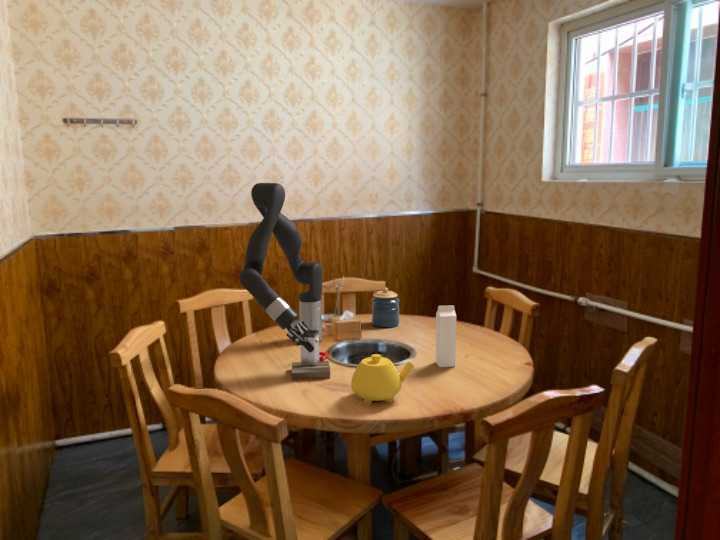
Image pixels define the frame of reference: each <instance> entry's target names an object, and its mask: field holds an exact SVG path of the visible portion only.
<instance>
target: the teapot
mask: <svg viewBox="0 0 720 540" xmlns="http://www.w3.org/2000/svg"><path fill="white" fill-rule="evenodd" d="M394 364H395V363H393V362H392V361H391V360H390V359H389V358H387V357H384V356H382V355H381V354H378V353H375V354H373V353H372V354H371V355H370V356H369V357H365V358H363V359H362V360H361V361H360V362H359V363H358V365H357V367H356V368H355V371H354V372H353V374H352V378H351V383H350V387H351V390H352V391H353V393H354V394H355V395H356V396H357V397H359V398H361V399H362V400H363V402H362V404H363V403H364V404H363V405H371V404H373V401H377V402H378V401H384V403H387V404H391V403H394V402H393V401H394V399H393V398H394V397H395V396H397V394H399V392H400V391H401V388H402V383H403V382H404V380H405V379H406V378H407V376H408V375H409V374H410V373H411V371H413V369H414V368H415V364H413V363H412V362H411V361H407V362H406V363H405V365H404V366H403V367H402V369H401V370H400V371H398V370H397V368H396V366H395V365H394Z"/></svg>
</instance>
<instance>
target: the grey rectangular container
mask: <svg viewBox="0 0 720 540" xmlns="http://www.w3.org/2000/svg"><path fill="white" fill-rule="evenodd" d="M303 336H304V337H305V338H306V340H307V341H308V342H309V343H310V344H311V345H312V346H313V347H314V350H313V351H312V352H311V353H309V352H308V350H307V349H306V348H305V347H304V346H303V345H302V346H301V345H300V362H301V364H306V365H315V364H316V363H317V362H318V361H319V357H320V354H319V352H320V341H319V330H304V331H303ZM301 338H302V337H301ZM307 341H306V342H307Z"/></svg>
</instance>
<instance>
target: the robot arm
mask: <svg viewBox="0 0 720 540" xmlns="http://www.w3.org/2000/svg"><path fill="white" fill-rule="evenodd" d="M250 191H251V192H250V195H251V200H252V202H253V204H254V206H255V208H256V209H257V210H258V212H259V213H260V215H261V216H262V217H263V218H262V220H261V222H259V224H258V225H257V226H256V228H255V229H254V230H253V232H252V233H251V235H250V237H249V239H248V242H247V247H246V251H245V256H244V258H245V262H244V266H243V269H242V271H240V273H239V275H238V281H239V283H240V285H241V287H242V288H244V289H245V290H246V291H247V292H248V293H249V294H250V295H251V296H252V297H253V298H254V299H255V301H256V302H257V303H258V305H260V307H261V308H262V309H263V310H264V311H265V312H266V314H267V315H268V316H269V317H270V318H271V319H272V320H273V321H274V323H275V324H276V325H277V326H278V327H279V328H281V330H283V331H284V330H287V331H288V332H286V336H287V338H288V339H290V340H291V341H292V342H293V343H295V345H297V346H300V347H301V346H302V345H303V346H304V347H305V348H306V349H307V350H308V352H309V353H311V352H312V351H313V350H314V347H313V346H312V345H311V344H310V343H309V342H308V341H307V340H306V338H305V337H304V336H303V331H304V330H314V327H316V330H319V342H320V341H322V340H323V326H322V325H323V321H322V320H323V319H322V317H323V314H322V295H323V278H324V276H323V274H324V273H323V267H322V266H321V265H322V264H320V263H318V262H310V261H309V262H308V261H304V260H303V259H302V257H301V254H300V253H301V250H302V245H303V238H302V234H301V233H300V231H299V229H298V227H297V226H296V225H295V223H294V222H293V221H292V220H291V219H289V217H287V216H285V215H284V214H283V213H282V209H283V207H284V204H285V199H286V191H285V188H284V186H283V185H282V184H281V183H277V182H259V183H255V184H254V185H253V186H252V188H251V190H250ZM272 234H273V236H274V238H275V240H276V242H277V244H278V245H279V247H280V249H281V250H282V252H283V254H284V256H285V258H286V261H287V262H288V265H289V267H290V270H291V273H292V275H293V277H294V279H295V281H296V282H297V283H299V284H302V285H308V286H309V288H308V290H306V291H303V292H300V293H299V295H298V305H299V314H298V313H297V312H296V311H295V310H294V309H293V307H291V305H290V304H289V303H287V301H286V300H285V299H284V298H282V297H281V296H280V295H279V294H278V293H277V292H276V291H275V290H274V289H273V288H272V287H271V286H270V285H269V284H268V283H267V282H266V280H265V279H264V278H263V269H264V263H265V260H266V255H267V252H268V248H269V243H270V239H271V236H272ZM298 317H299V320H298ZM301 337H302V338H301ZM306 341H307V342H306Z"/></svg>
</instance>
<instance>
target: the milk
mask: <svg viewBox="0 0 720 540" xmlns="http://www.w3.org/2000/svg"><path fill="white" fill-rule="evenodd" d="M456 349H457V314H456V310H455V305H438V307H437V311H436V313H435V363H436V364H437V366H438V367H439V368H455V367H456V359H457V358H456V352H457V351H456ZM454 366H455V367H454Z"/></svg>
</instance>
